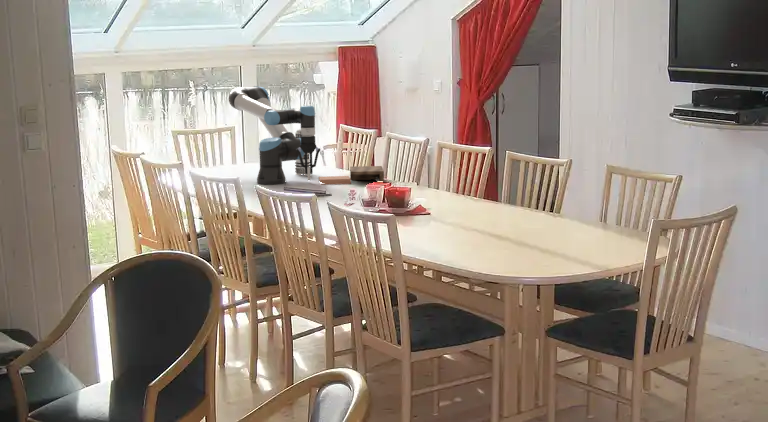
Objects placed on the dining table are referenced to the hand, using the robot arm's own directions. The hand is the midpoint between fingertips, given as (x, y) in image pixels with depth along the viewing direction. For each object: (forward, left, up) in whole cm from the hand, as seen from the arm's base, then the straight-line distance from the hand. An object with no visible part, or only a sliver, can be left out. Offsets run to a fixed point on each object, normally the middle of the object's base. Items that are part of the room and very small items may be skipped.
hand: (309, 180), depth 504 cm
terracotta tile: (+13, 0, -2) cm, 14 cm away
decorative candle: (-4, +32, -2) cm, 32 cm away
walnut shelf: (+30, 0, -1) cm, 31 cm away
